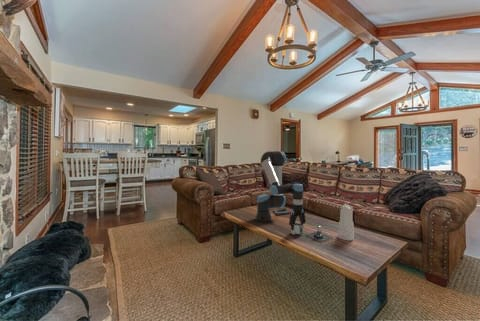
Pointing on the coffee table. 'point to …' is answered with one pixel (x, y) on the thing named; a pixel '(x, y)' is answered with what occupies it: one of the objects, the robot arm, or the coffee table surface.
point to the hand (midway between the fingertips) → (297, 232)
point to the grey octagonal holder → (298, 228)
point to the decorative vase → (346, 223)
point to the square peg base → (319, 235)
